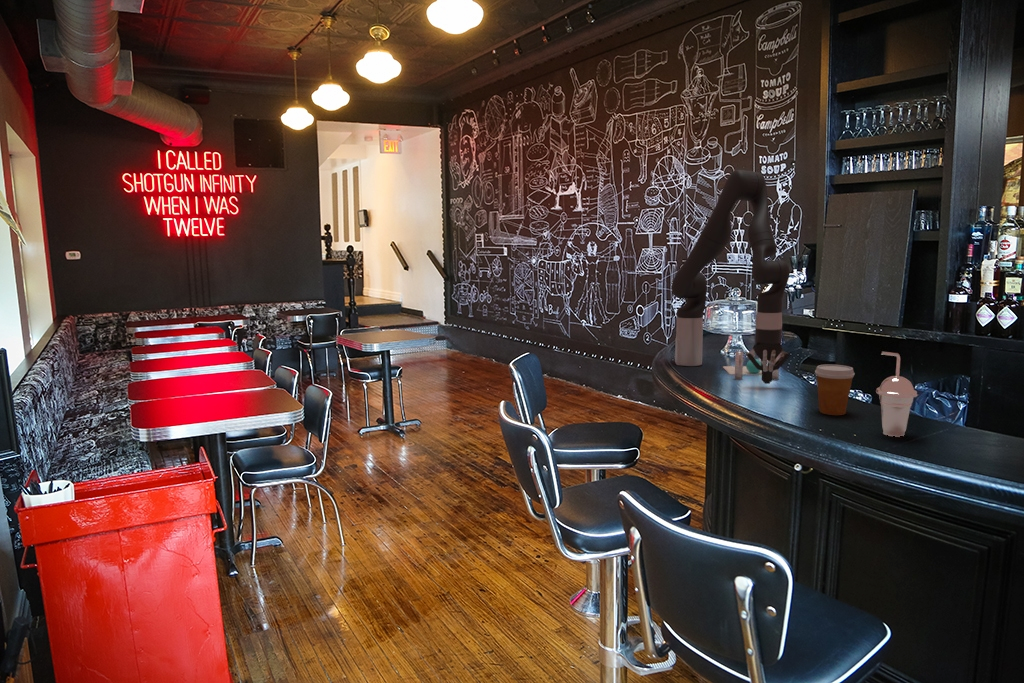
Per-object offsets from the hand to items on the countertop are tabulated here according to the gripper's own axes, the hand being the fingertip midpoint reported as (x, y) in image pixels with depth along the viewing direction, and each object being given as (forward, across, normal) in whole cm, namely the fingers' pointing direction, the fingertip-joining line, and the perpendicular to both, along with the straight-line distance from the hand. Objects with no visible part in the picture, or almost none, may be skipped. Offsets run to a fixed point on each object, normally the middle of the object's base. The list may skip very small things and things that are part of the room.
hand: (766, 383), depth 215 cm
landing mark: (+2, 0, -27) cm, 27 cm away
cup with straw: (+2, -17, +49) cm, 52 cm away
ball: (-1, -1, -22) cm, 22 cm away
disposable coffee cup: (+2, -10, +29) cm, 31 cm away
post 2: (+2, -6, -13) cm, 14 cm away
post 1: (+2, +6, -13) cm, 14 cm away
